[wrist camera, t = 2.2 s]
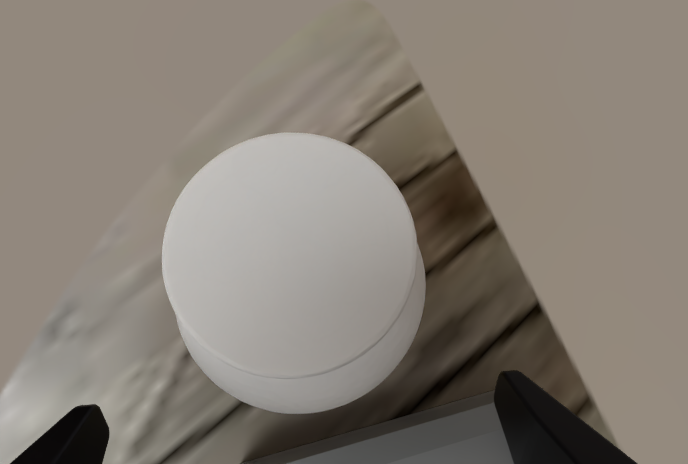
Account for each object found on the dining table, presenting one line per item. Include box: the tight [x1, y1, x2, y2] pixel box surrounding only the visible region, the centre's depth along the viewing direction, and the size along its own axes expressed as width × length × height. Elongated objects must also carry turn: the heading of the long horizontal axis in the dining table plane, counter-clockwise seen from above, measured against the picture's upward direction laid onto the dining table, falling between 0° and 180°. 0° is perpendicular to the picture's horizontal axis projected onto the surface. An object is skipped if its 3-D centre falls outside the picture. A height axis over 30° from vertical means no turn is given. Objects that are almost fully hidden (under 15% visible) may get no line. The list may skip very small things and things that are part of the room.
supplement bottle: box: [162, 132, 426, 414], centre depth 13 cm, size 7×7×13 cm
